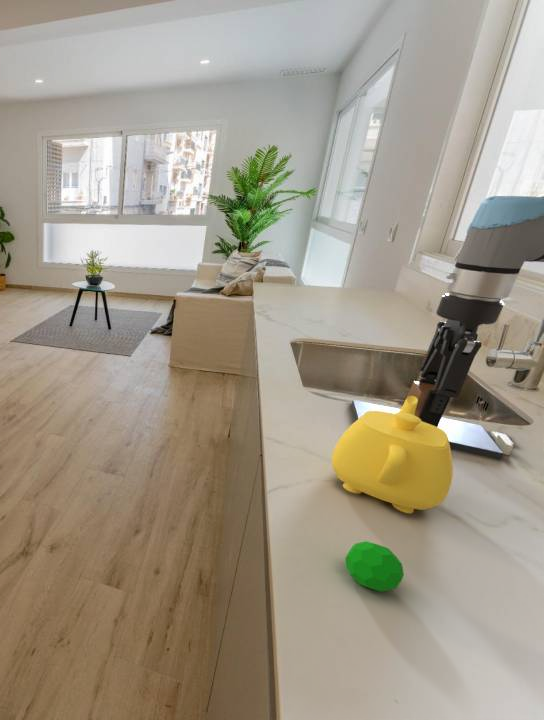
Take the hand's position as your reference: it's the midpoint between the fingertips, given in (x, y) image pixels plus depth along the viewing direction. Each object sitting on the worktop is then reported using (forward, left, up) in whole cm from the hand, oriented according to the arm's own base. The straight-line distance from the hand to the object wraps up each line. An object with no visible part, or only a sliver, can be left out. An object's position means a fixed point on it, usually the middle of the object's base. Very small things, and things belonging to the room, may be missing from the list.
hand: (421, 418), depth 79 cm
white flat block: (-13, -4, -2) cm, 13 cm away
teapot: (+9, +25, -3) cm, 27 cm away
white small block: (-11, +1, -2) cm, 11 cm away
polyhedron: (+13, +47, -3) cm, 49 cm away
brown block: (0, 0, -1) cm, 1 cm away
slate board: (0, 0, -3) cm, 3 cm away
